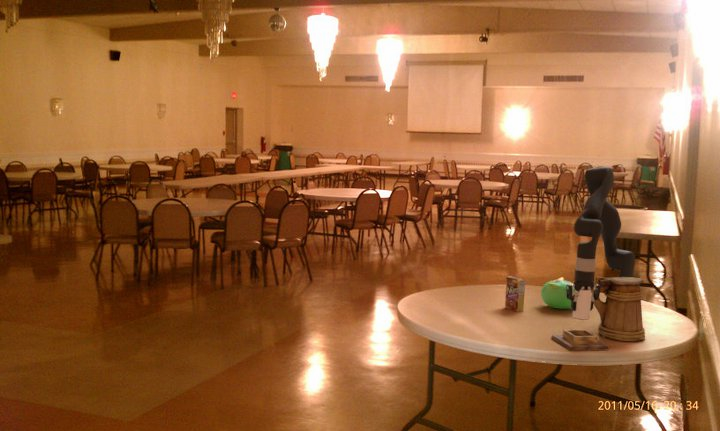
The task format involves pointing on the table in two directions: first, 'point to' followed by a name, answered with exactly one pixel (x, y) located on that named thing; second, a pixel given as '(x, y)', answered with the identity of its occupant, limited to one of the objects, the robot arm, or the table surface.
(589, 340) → the socket stand
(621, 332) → the tankard
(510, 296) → the candy box
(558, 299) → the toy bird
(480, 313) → the table surface
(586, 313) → the can
